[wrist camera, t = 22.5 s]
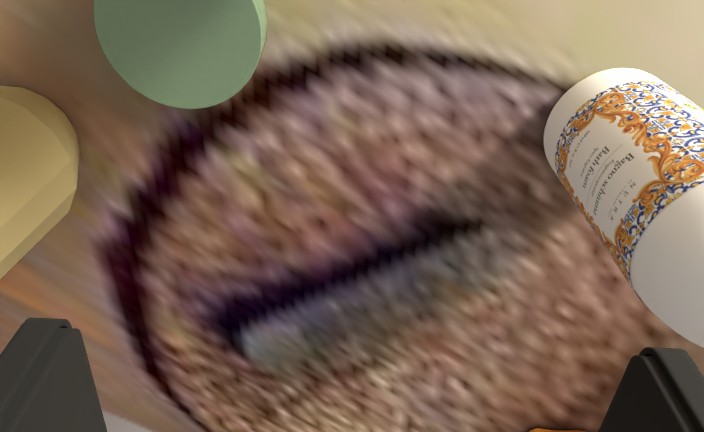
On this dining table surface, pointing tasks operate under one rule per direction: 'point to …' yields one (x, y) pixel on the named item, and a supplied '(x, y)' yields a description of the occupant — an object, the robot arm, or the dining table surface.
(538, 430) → the coffee package
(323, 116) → the dining table surface
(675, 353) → the robot arm
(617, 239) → the bath foam
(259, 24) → the lid
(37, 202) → the squeeze bottle
